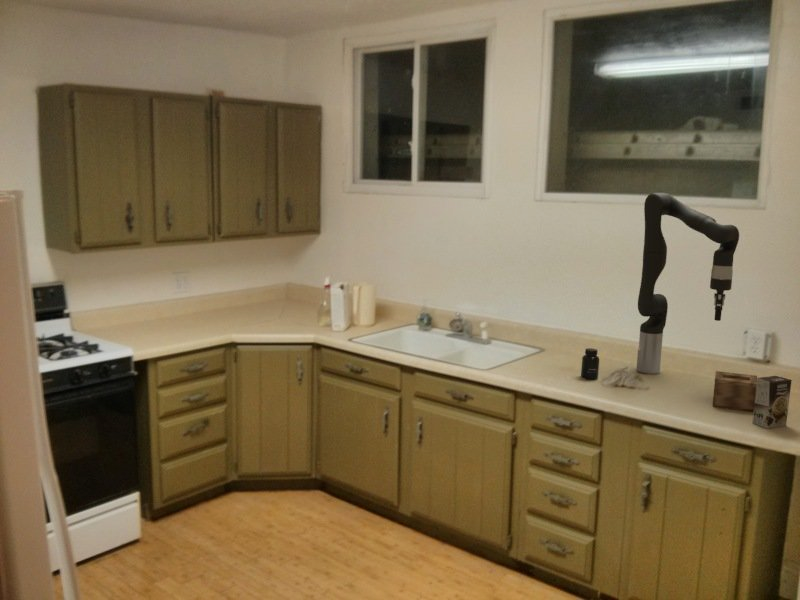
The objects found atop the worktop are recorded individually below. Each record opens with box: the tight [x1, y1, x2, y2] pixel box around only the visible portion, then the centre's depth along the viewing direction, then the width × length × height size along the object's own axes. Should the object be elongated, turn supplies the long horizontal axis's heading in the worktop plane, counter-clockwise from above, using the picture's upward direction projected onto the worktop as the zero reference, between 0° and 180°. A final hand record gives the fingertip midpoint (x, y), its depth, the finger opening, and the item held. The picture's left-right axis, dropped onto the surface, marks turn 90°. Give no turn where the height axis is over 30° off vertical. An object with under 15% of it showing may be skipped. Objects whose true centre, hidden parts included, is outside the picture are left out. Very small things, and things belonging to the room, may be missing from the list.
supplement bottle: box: [580, 347, 600, 381], centre depth 299 cm, size 7×7×12 cm
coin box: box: [712, 370, 758, 413], centre depth 267 cm, size 14×12×10 cm
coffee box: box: [752, 375, 792, 429], centre depth 246 cm, size 9×6×16 cm
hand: (717, 318), depth 284 cm, fingers open, 8 cm apart
